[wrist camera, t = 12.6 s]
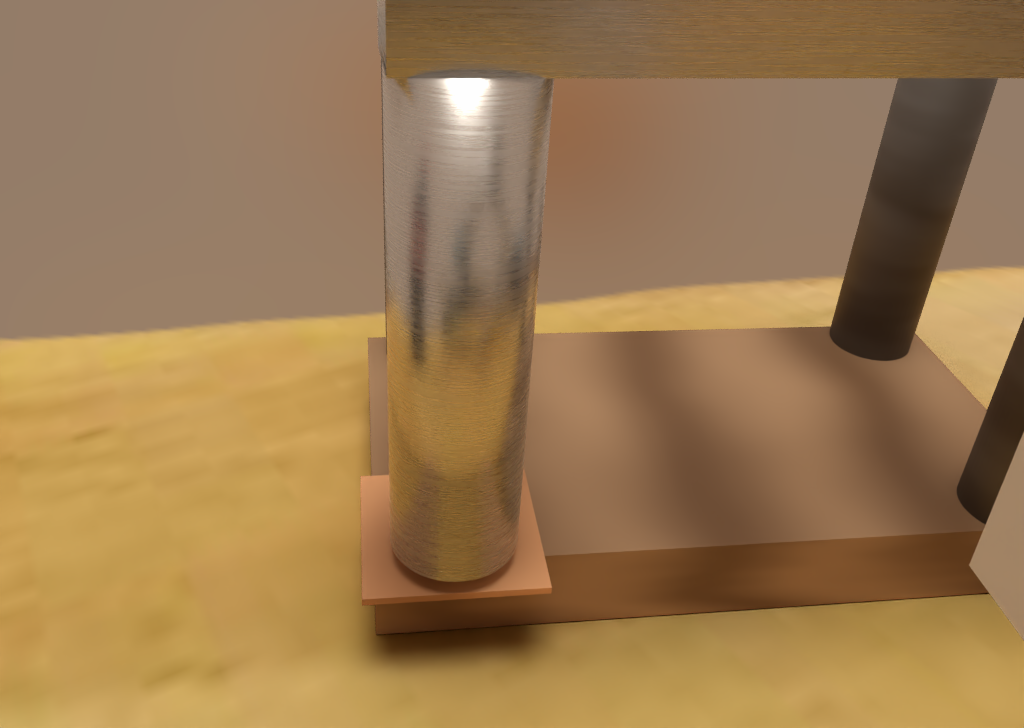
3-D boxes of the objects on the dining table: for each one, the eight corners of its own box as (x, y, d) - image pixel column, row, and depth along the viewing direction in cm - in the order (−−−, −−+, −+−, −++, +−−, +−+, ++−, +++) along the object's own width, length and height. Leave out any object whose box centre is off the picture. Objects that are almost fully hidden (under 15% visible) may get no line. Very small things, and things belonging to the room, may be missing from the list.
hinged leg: (919, 455, 28) (1093, -32, 21) (983, 530, 26) (1208, 3, 18) (385, 499, 25) (374, -49, 18) (396, 587, 23) (388, -11, 16)
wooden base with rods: (884, 374, 38) (1056, -171, 28) (1089, 621, 27) (1486, -112, 17) (361, 391, 35) (339, -213, 25) (365, 675, 24) (331, -171, 14)
